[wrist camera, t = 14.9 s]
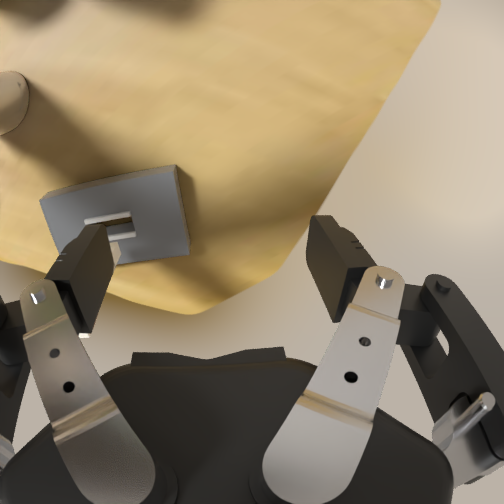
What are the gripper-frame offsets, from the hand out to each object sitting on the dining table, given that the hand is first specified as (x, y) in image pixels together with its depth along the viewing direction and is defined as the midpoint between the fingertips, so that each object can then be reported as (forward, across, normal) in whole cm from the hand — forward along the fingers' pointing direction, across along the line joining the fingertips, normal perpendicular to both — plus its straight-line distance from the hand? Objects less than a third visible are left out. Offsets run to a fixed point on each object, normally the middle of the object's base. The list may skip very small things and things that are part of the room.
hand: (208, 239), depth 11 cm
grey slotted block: (+28, -14, -12) cm, 34 cm away
